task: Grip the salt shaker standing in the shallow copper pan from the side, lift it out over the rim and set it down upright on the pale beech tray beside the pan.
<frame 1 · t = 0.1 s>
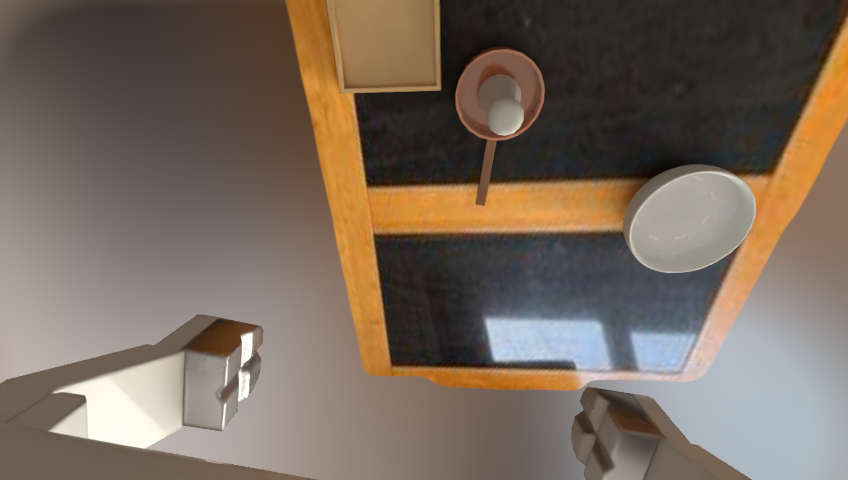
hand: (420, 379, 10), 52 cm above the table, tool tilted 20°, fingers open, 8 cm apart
cereal bowl: (668, 203, 62), on the table
pan: (497, 92, 55), on the table
salt shaker: (497, 92, 55), resting on pan
pan handle: (485, 172, 59), point 2 cm above the table
tray: (385, 6, 51), on the table
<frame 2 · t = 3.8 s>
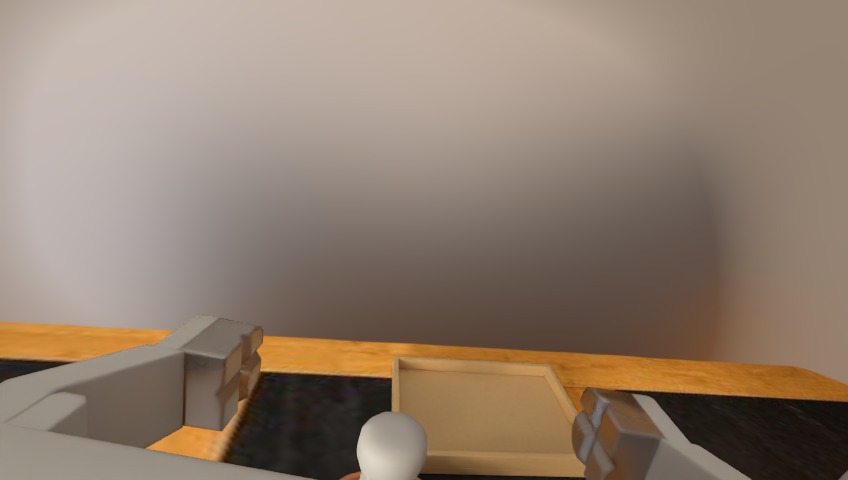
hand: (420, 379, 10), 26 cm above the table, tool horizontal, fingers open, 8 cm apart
tray: (482, 417, 43), on the table
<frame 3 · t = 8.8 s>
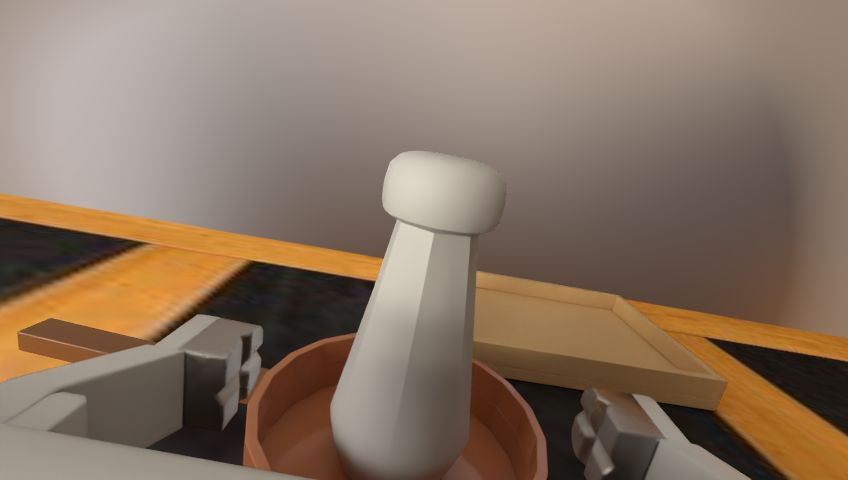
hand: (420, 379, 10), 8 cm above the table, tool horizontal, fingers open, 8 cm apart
pan: (390, 464, 17), on the table
salt shaker: (391, 462, 17), resting on pan
pan handle: (151, 360, 17), point 2 cm above the table
tray: (536, 334, 32), on the table
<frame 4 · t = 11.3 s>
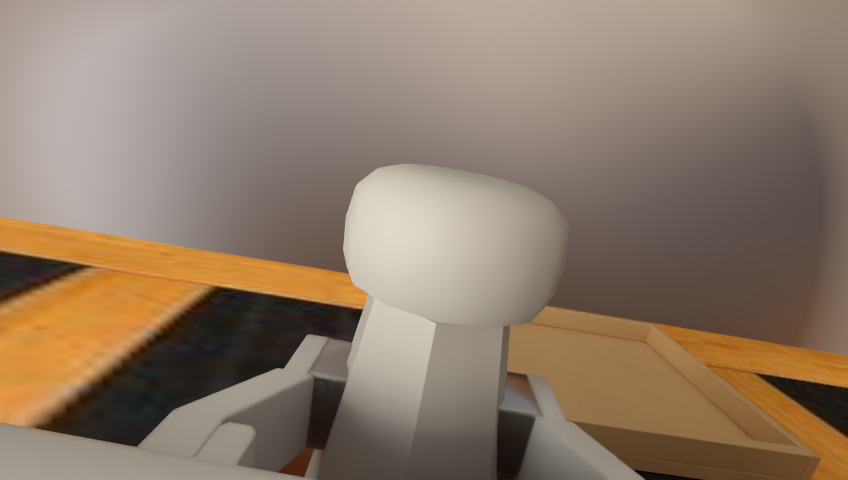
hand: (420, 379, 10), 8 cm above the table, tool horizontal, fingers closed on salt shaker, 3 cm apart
tray: (561, 380, 26), on the table
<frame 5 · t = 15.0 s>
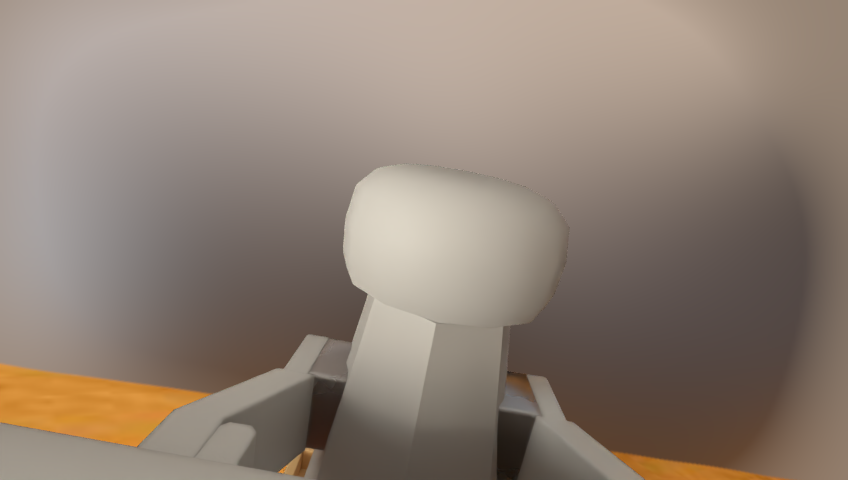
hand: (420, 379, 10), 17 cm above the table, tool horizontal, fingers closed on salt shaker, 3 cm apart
when the fingers open (9 cm above the table, at t = 18.7 s): salt shaker stays where it is, resting on tray.
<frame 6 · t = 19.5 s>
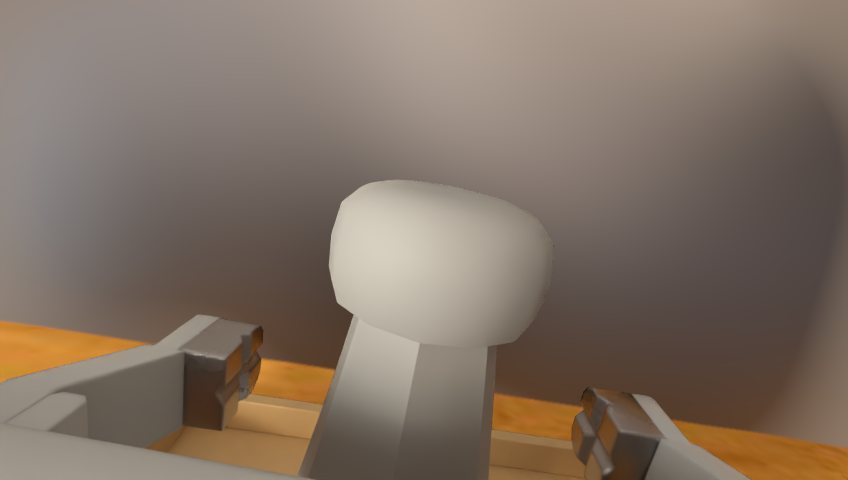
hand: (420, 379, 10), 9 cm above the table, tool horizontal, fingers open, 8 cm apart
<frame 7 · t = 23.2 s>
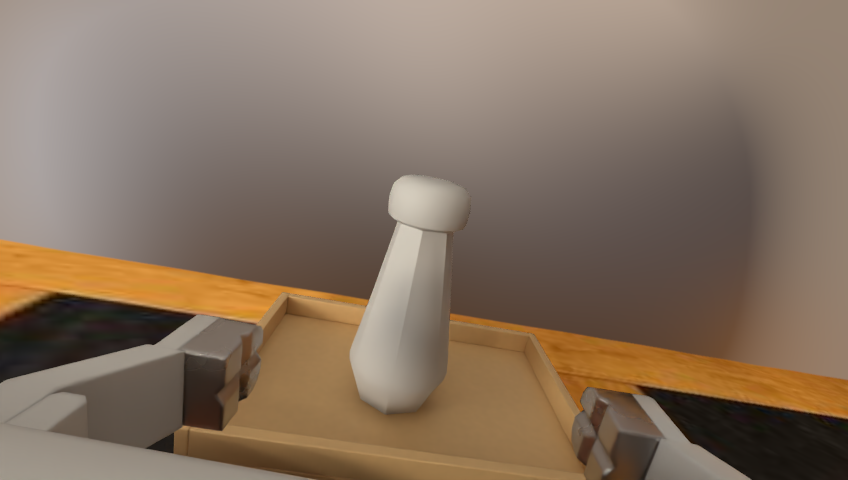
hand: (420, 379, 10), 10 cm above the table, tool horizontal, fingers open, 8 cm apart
salt shaker: (391, 393, 24), point 1 cm above the table, touching tray
tray: (404, 397, 25), on the table
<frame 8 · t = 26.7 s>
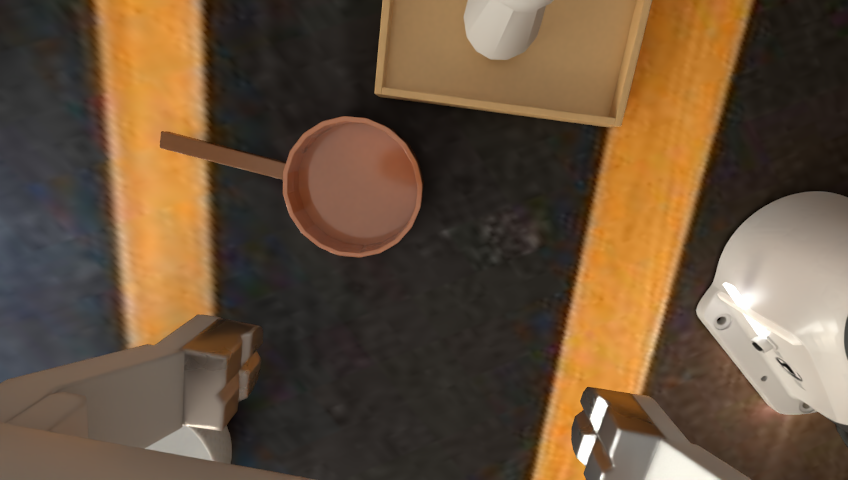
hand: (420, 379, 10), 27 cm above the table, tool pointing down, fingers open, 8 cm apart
cereal bowl: (177, 419, 43), on the table
pan: (359, 185, 36), on the table
salt shaker: (497, 27, 32), point 1 cm above the table, touching tray
pan handle: (227, 156, 33), point 2 cm above the table
tray: (508, 22, 32), on the table
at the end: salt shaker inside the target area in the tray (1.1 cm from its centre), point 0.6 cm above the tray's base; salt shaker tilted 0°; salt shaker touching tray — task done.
